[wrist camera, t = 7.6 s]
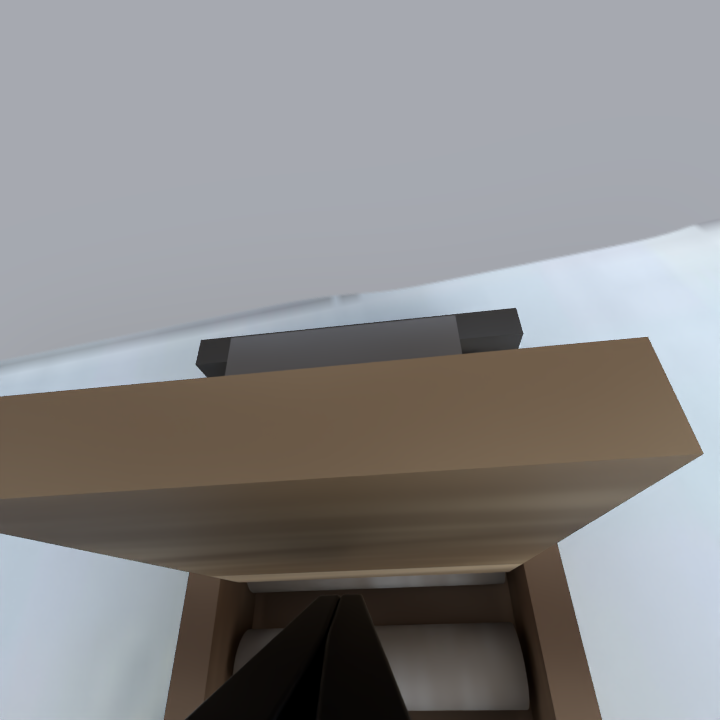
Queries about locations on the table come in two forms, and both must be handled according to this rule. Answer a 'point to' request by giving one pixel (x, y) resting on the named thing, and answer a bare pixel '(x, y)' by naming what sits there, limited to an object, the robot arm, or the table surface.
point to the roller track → (410, 614)
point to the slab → (345, 455)
